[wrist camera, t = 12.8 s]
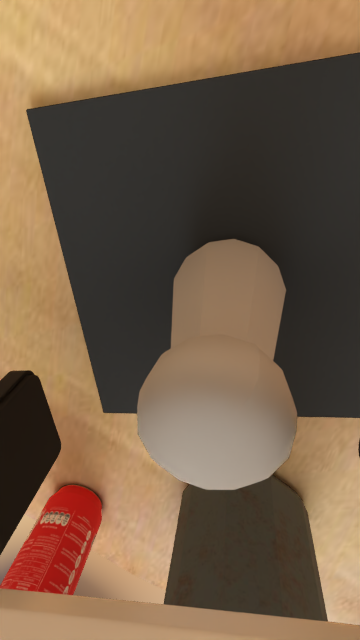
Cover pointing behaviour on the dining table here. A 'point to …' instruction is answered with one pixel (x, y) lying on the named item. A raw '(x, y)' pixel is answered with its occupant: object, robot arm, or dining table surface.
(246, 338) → the salt shaker
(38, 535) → the beverage can
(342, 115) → the mat
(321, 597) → the bottle
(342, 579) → the dining table surface
